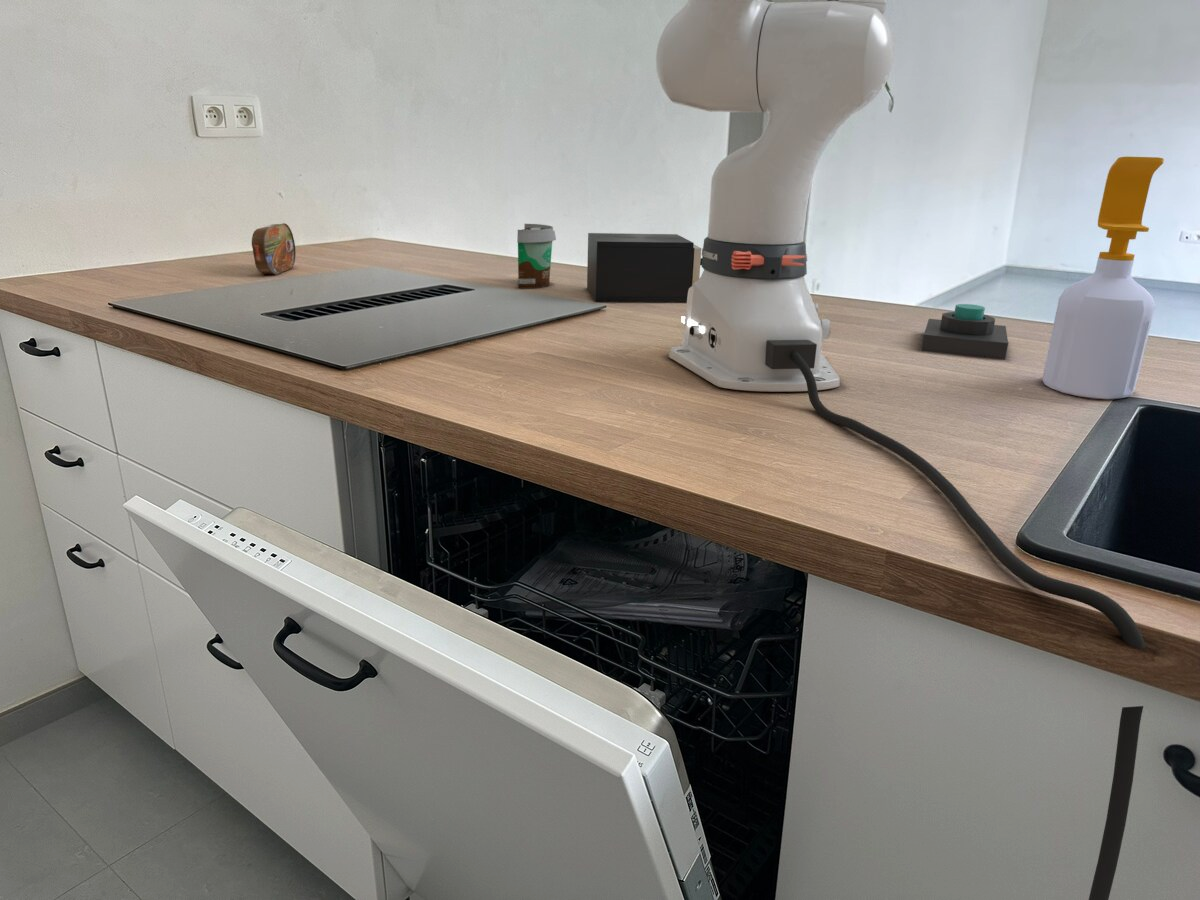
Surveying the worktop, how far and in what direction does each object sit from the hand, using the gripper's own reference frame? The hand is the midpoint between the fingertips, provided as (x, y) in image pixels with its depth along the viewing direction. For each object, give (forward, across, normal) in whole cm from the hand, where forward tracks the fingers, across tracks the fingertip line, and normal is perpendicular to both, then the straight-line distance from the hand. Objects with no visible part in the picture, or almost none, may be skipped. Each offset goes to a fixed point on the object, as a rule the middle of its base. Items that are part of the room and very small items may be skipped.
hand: (827, 113), depth 124 cm
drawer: (+28, -16, -20) cm, 38 cm away
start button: (+25, +22, +14) cm, 36 cm away
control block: (+29, +22, +14) cm, 39 cm away
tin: (+29, -40, -88) cm, 101 cm away
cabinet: (+29, -16, -24) cm, 41 cm away
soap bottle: (+29, +43, +17) cm, 55 cm away
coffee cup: (+29, -27, -40) cm, 56 cm away
